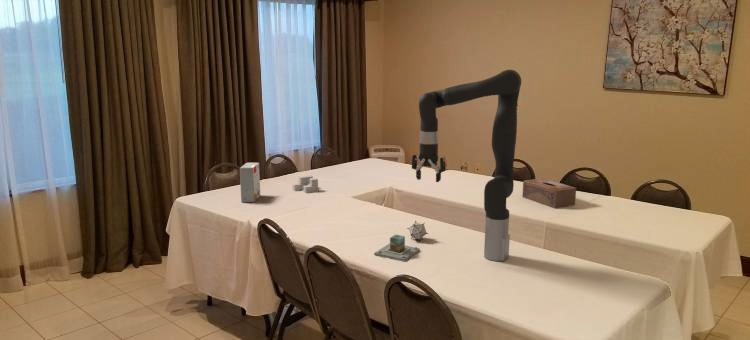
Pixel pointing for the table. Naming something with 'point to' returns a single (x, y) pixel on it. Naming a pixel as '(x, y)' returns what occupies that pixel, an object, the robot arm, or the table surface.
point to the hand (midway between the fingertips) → (428, 180)
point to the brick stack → (397, 243)
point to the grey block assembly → (306, 184)
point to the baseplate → (397, 256)
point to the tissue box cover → (549, 193)
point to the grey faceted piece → (417, 230)
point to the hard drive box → (250, 182)
